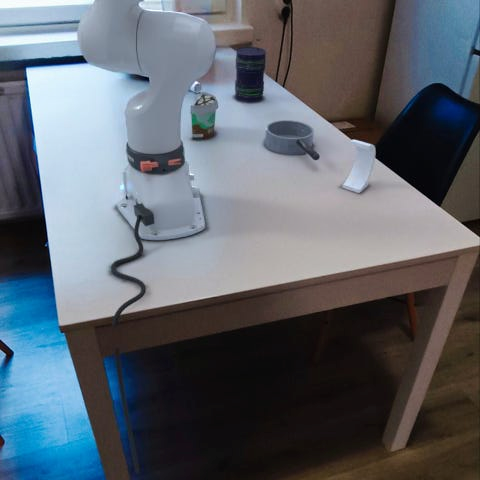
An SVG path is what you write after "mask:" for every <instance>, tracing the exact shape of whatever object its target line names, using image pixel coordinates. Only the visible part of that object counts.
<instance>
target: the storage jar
mask: <svg viewBox="0 0 480 480" xmlns="http://www.w3.org/2000/svg"><path fill="white" fill-rule="evenodd" d="M255 40H256V41H257V42H260V41H261V39H260V38H256V39H255ZM266 55H267V51H266V49H264V48H261V47H258V46H257V47H256V46H242V47H239V48H236V50H235V74H236V75H235V81H234V99H235V100H237V101H239V102H242V103H247V104H248V103H249V104H251V103H260V102H261V101H263V99H264V96H263V95H264V90H265V81H264V80H265V79H264V77H265V70H266V61H267V59H266V58H267V56H266Z"/></svg>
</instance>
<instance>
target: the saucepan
mask: <svg viewBox="0 0 480 480" xmlns="http://www.w3.org/2000/svg"><path fill="white" fill-rule="evenodd" d="M314 135H315V130H314V128H313V127H312V126H311V125H309V124H308V123H305V122H302V121H298V120H292V119H291V120H289V119H283V120H282V119H281V120H276V121H272V122H270V123H268V124H267V125H266V127H265V135H264V144H265V147H266V148H267V149H268V150H270V151H272V152H274V153H277V154H281V155H290V156H291V155H301V154H305V153H306V152H305V151H304V150H303V149H302V148H301V147H300V146H299V145H298V144H297V140H298V139H300V138H301V139H303V140H304V141H305V142H306V143H307V144H308V145H309V146H310V147H311V148H313V142H314ZM306 154H307V153H306Z"/></svg>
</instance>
